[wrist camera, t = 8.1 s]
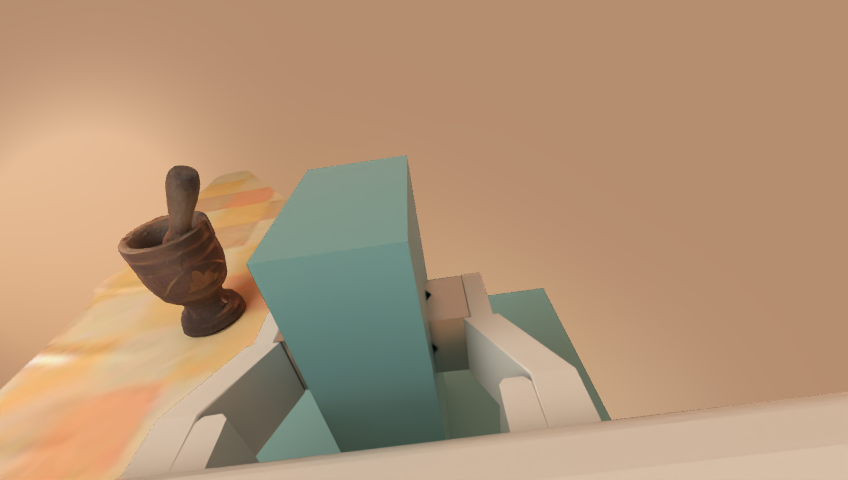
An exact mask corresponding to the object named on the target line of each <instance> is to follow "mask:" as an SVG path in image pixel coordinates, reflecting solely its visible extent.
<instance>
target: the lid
mask: <svg viewBox="0 0 848 480" xmlns="http://www.w3.org/2000/svg"><path fill="white" fill-rule="evenodd" d="M246 265H247V267H248V269H249V271H250V273H251V275H252V277H253V279H254V281H255V283H256V284H257V286H258V288H259V290H260V292H261V294H262V296H263V298H264V300H265V302H266V304H267V306H268V308H269V310H270V312H271V314H272V316H273V318H274V320H275V322H276V324H277V326H278V328H279V330H280V332H281V334H282V336H283V338H284V340H285V342H286V344H287V346H288V348H289V350H290V352H291V354H292V356H293V358H294V360H295V362H296V364H297V366H298V368H299V370H300V372H301V374H302V376H303V378H304V380H305V382H306V384H307V386H308V388H309V390H305V393H304V395H303V396H302V397H301V398H300V400H299V401H298V402H297V404H296V405H295V406H294V408H293V409H292V410H291V411H290V413H289V414H288V415H287V417H286V418H285V419H284V421H283V422H282V423H281V424H280V426H279V427H278V428H277V430H276V431H275V432H274V434H273V435H272V436H271V437H270V439H269V440H268V441H267V443H266V444H265V445H264V447H263V448H262V449H261V450H260V452H259V453H258V454H257V456H256V458H257V459H258V460H259V461H260V462H267V461H276V460H284V459H292V458H301V457H309V456H317V455H326V454H334V453H342V452H350V451H359V450H367V449H375V448H383V447H392V446H400V445H408V444H416V443H425V442H433V441H441V440H449V439H458V438H466V437H474V436H483V435H491V434H499V433H501V431H500V405H499V404H498V403H497V402H496V401H495V399H494V398H493V397H492V396H491V395H490V394H489V393H488V391H487V390H486V389H485V388H484V387H483V386H482V385H481V384H480V382H479V381H478V380H477V379H476V378H475V377H474V376H473V374H472V373H471V372H470V371H469V370H460V371H450V372H440V373H437V369H436V363H435V358H434V350H433V343H432V341H431V336H430V330H429V325H428V316H427V303H426V301H427V296H426V290H425V281H426V280H427V273H426V268H425V262H424V256H423V250H422V244H421V238H420V232H419V226H418V220H417V214H416V208H415V202H414V196H413V190H412V185H411V178H410V172H409V166H408V160H407V156H406V155H405V156H398V157H392V158H385V159H379V160H371V161H365V162H358V163H351V164H345V165H338V166H331V167H324V168H317V169H311V170H307V172H306V173H305V175H304V176H303V178H302V179H301V181H300V182H299V184H298V186H297V187H296V189H295V190H294V192H293V193H292V195H291V196H290V198H289V199H288V201H287V202H286V204H285V205H284V207H283V208H282V210H281V212H280V213H279V215H278V216H277V218H276V219H275V221H274V222H273V224H272V225H271V227H270V228H269V230H268V231H267V233H266V235H265V236H264V238H263V239H262V241H261V242H260V244H259V245H258V247H257V248H256V250H255V251H254V253H253V254H252V256H251V258H250V259H249V261H248V262H247V264H246ZM488 299H489V302H490V306H491V309H492V312H493V314H498V313H499V314H500V315H502V316H503V317H504V318H506V319H507V320H509V321H510V322H511V323H513V324H514V325H516V326H517V327H519V328H520V329H521V330H523V331H524V332H526V333H527V334H528V335H530V336H531V337H533V338H534V339H535V340H537V341H538V342H540V343H541V344H542V345H544V346H545V347H547V348H548V349H549V350H551V351H552V352H554V353H555V354H556V355H558V356H559V357H561V358H562V359H563V360H565V361H566V362H568V363H569V364H570V365H572V366H573V367H575V368H576V370H577V372H578V374H579V376H580V378H581V380H582V382H583V384H584V386H585V388H586V390H587V392H588V394H589V396H590V398H591V400H592V402H593V404H594V406H595V408H596V411H597V413H598V415H599V417H600V419H601V421H607V420H611V419H610V417H609V415H608V413H607V411H606V409H605V407H604V405H603V403H602V401H601V399H600V397H599V395H598V393H597V392H596V389H595V388H594V386H593V384H592V382H591V380H590V378H589V376H588V374H587V372H586V370H585V368H584V366H583V364H582V362H581V360H580V359H579V357H578V355H577V353H576V351H575V349H574V347H573V345H572V343H571V341H570V339H569V337H568V335H567V333H566V331H565V329H564V328H563V326H562V324H561V322H560V320H559V318H558V316H557V314H556V312H555V310H554V308H553V306H552V304H551V302H550V300H549V298H548V296H547V294H546V293H545V291H544V289H543V288H541V289H534V290H526V291H518V292H511V293H503V294H496V295H488Z"/></svg>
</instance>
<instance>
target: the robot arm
mask: <svg viewBox="0 0 848 480" xmlns="http://www.w3.org/2000/svg"><path fill="white" fill-rule="evenodd" d="M425 290H426V296H427V301H426V303H427V316H428V325H429V330H430V336H431V341H432V343H433V350H434V358H435V363H436V369H437V373H440V372H450V371H460V370H469V371H470V372H471V373H472V374H473V376H474V377H475V378H476V379H477V380H478V381H479V382H480V384H481V385H482V386H483V387H484V388H485V389H486V390H487V391H488V393H489V394H490V395H491V396H492V397H493V398H494V399H495V401H496V402H497V403H498V404H499V405H500V431H501V433H499V434H491V435H483V436H474V437H466V438H458V439H449V440H441V441H433V442H425V443H416V444H408V445H400V446H392V447H383V448H375V449H367V450H359V451H350V452H342V453H334V454H326V455H317V456H309V457H301V458H292V459H284V460H276V461H267V462H260V461H259V460H258V459H257V458H256V456H257V454H258V453H259V452H260V450H261V449H262V448H263V447H264V445H265V444H266V443H267V441H268V440H269V439H270V437H271V436H272V435H273V434H274V432H275V431H276V430H277V428H278V427H279V426H280V424H281V423H282V422H283V421H284V419H285V418H286V417H287V415H288V414H289V413H290V411H291V410H292V409H293V408H294V406H295V405H296V404H297V402H298V401H299V400H300V398H301V397H302V396H303V395H304V393H305V390H309V388H308V386H307V384H306V382H305V380H304V378H303V376H302V374H301V372H300V370H299V368H298V366H297V364H296V362H295V360H294V358H293V356H292V354H291V352H290V350H289V348H288V346H287V344H286V342H285V340H284V338H283V336H282V334H281V332H280V330H279V328H278V326H277V324H276V322H275V320H274V318H273V316H272V314H271V312H270V310H269V312H268V314H267V316H266V319H265V321H264V323H263V325H262V327H261V329H260V331H259V333H258V335H257V338H256V340H255V342H254V344H253V346H247V347H246V348H245V349H243V350H242V351H241V352H240V353H238V354H237V355H236V356H235V357H233V358H232V359H231V360H230V361H229V362H227V363H226V364H225V365H224V366H222V367H221V368H220V369H219V370H218V371H216V372H215V373H214V374H213V375H211V376H210V377H209V378H208V379H207V380H205V381H204V382H203V383H202V384H200V385H199V386H198V387H197V388H196V389H194V390H193V391H192V392H191V393H189V394H188V395H187V396H186V397H185V398H183V399H182V400H181V401H180V402H178V403H177V404H176V405H175V406H173V407H172V408H171V409H170V410H169V411H167V412H166V413H165V414H164V415H162V416H161V417H160V418H159V419H158V420H157V421H156V422H155V424H154V425H153V427H152V429H151V430H150V432H149V433H148V435H147V437H146V438H145V440H144V441H143V443H142V445H141V446H140V448H139V449H138V451H137V453H136V454H135V456H134V457H133V459H132V461H131V462H130V464H129V465H128V467H127V469H126V470H125V472H124V473H123V475H122V477H121V478H120V479H116V480H848V392H840V393H832V394H824V395H815V396H808V397H798V398H791V399H782V400H774V401H765V402H757V403H749V404H740V405H732V406H725V407H715V408H707V409H699V410H691V411H682V412H675V413H666V414H657V415H650V416H641V417H632V418H624V419H616V420H607V421H601V419H600V417H599V415H598V413H597V411H596V408H595V406H594V404H593V402H592V400H591V398H590V396H589V394H588V392H587V390H586V388H585V386H584V384H583V382H582V380H581V378H580V376H579V374H578V372H577V370H576V368H575V367H573V366H572V365H570V364H569V363H568V362H566V361H565V360H563V359H562V358H561V357H559V356H558V355H556V354H555V353H554V352H552V351H551V350H549V349H548V348H547V347H545V346H544V345H542V344H541V343H540V342H538V341H537V340H535V339H534V338H533V337H531V336H530V335H528V334H527V333H526V332H524V331H523V330H521V329H520V328H519V327H517V326H516V325H514V324H513V323H511V322H510V321H509V320H507V319H506V318H504V317H503V316H502V315H500V314H499V313H498V314H493V312H492V309H491V306H490V302H489V299H488V296H487V292H486V289H485V286H484V283H483V280H482V276H481V274H480V273H479V272H477V273H471V274H464V275H461V276H455V277H447V278H441V279H433V280H426V281H425Z"/></svg>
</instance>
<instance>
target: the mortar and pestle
mask: <svg viewBox="0 0 848 480" xmlns="http://www.w3.org/2000/svg"><path fill="white" fill-rule="evenodd" d="M165 184H166V185H165V188H166V197H167V206H168V213H169V215H166V216H161V217H158V218H155V219H153V220H152V221H150V222H147V223H145V224H143V225H141V226H139V227H137V228H136V229H134V230H133V231H131V232H130V233H128V234H127V235H126V237H124V238H123V239H122V240H121V241H120V244H119V245H118V250H119V252H120V254H121V255H122V257H123V258H124V259H125V260H126V262H127V263H128V264H129V265H130V267H131V268H132V269H133V270H134V271H135V273H136V274H137V276H138V277H139V279H140V280H141V281H142V283H143V284H144V285H145V286H146V287H147V288H148V289H149V290H150V291H151V292H153V293H154V294H155V295H157V296H158V297H159V298H161V299H162V300H163V301H165V302H166V303H171V304H176V305H183V306H185V308H184V310H183V312H182V317H181V323H182V327H183V330H184V333H185V334H186V335H188V336H190V337H199V336H206V335H210V334H212V333H215V332H217V331H219V330H221V329H223V328H224V327H226V326H227V325H229V324H231V323H232V322H234V321H235V320H237V319H238V318H239V317H240V316H241V314H242V312H243V311H244V310H245V302H244V300H243V298H242V297H241V295H240V294H238V293H237V292H236V291H234V290H232V289H223V288H222V284H223V283H224V281H225V279H226V276H227V267H226V261H225V255H224V252H223V249H222V247H221V245H220V243H219V241H218V239H217V238H216V236H215V232H214V229H213V227H212V225H211V223H210V221H209V219H208V217H207V215H206V214H205V213H202V212H200V211H194V210H195V206H196V203H197V200H198V195H199V189H200V179H199V174H198V172H197V171H196V170H195V169H193V168H192V167H189V166H174V167H173V168H172V169H170V170H169V172H168V174H167V177H166V183H165Z"/></svg>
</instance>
